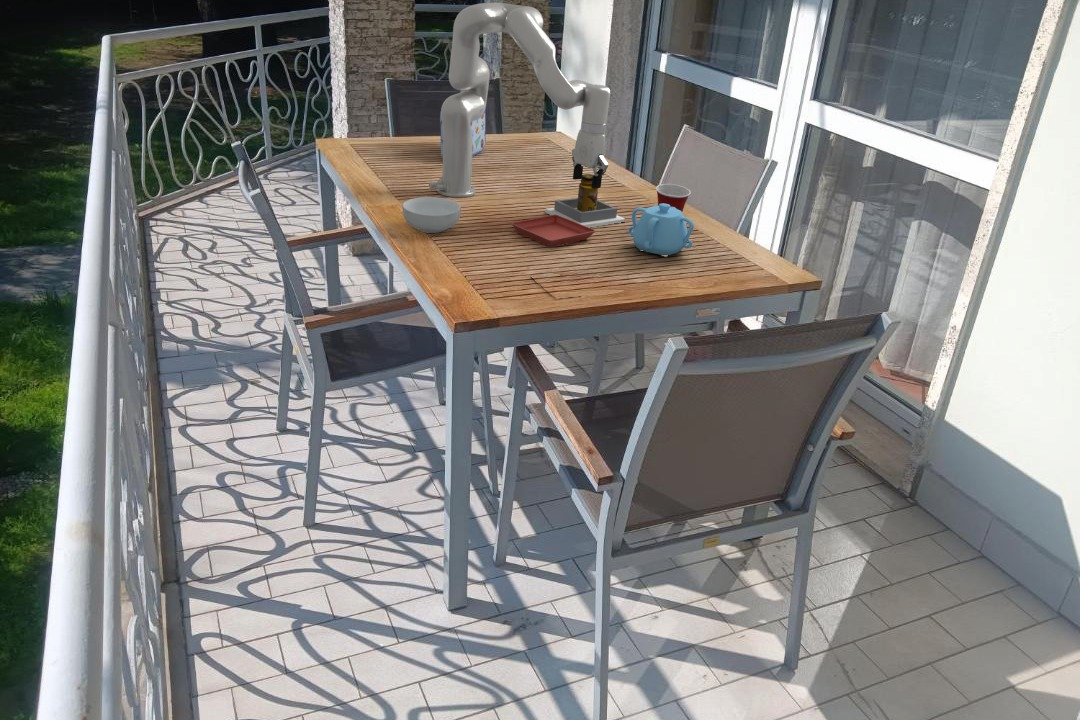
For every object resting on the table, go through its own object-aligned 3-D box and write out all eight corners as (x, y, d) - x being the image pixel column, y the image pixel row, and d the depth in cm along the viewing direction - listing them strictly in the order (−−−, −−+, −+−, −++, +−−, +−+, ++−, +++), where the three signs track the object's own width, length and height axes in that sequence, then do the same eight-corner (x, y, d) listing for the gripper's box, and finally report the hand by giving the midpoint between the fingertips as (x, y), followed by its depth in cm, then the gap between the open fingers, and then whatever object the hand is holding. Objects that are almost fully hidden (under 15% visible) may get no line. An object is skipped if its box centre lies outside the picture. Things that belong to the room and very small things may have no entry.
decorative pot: (693, 260, 243) (701, 214, 237) (638, 259, 241) (645, 212, 235) (676, 241, 258) (683, 197, 252) (624, 240, 255) (630, 195, 249)
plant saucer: (509, 233, 254) (510, 222, 253) (555, 224, 265) (555, 213, 264) (549, 251, 242) (550, 240, 241) (595, 241, 253) (596, 230, 252)
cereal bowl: (396, 220, 256) (396, 197, 252) (451, 218, 261) (451, 195, 258) (410, 239, 242) (410, 215, 238) (467, 236, 247) (468, 212, 244)
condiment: (598, 217, 269) (602, 179, 264) (572, 216, 268) (575, 178, 263) (593, 210, 276) (597, 173, 270) (567, 209, 274) (571, 172, 269)
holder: (578, 229, 261) (580, 216, 259) (545, 212, 274) (546, 199, 272) (624, 222, 270) (626, 209, 268) (590, 206, 283) (591, 193, 281)
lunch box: (461, 166, 317) (463, 104, 307) (435, 162, 320) (436, 101, 310) (488, 151, 341) (490, 93, 331) (463, 147, 343) (465, 90, 333)
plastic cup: (656, 231, 265) (661, 193, 259) (646, 220, 274) (651, 183, 269) (690, 232, 267) (696, 194, 261) (679, 221, 276) (684, 184, 271)
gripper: (566, 121, 264) (560, 176, 271) (600, 135, 251) (593, 192, 259) (586, 120, 268) (579, 175, 275) (620, 134, 255) (613, 190, 263)
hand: (586, 183), depth 267 cm, fingers open, 9 cm apart
